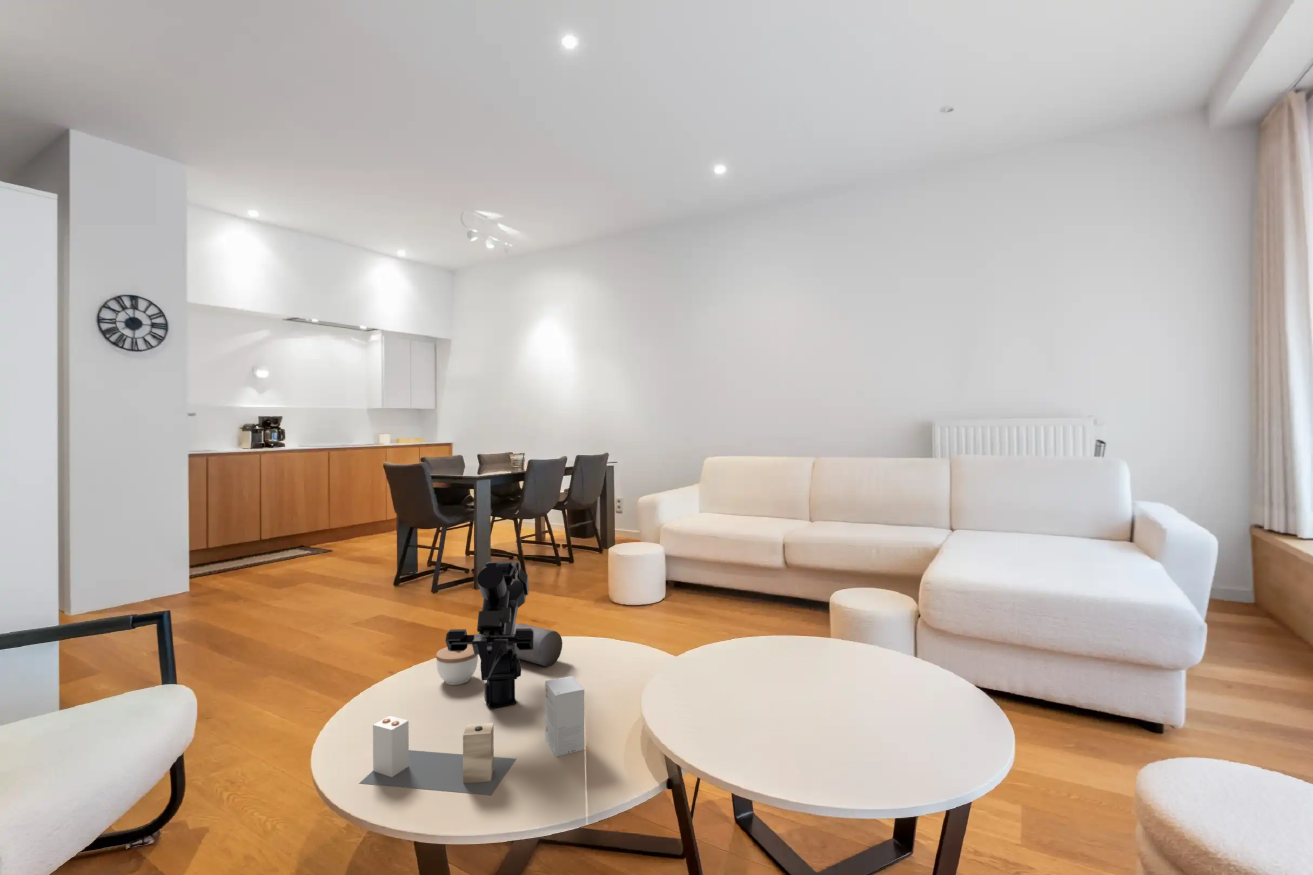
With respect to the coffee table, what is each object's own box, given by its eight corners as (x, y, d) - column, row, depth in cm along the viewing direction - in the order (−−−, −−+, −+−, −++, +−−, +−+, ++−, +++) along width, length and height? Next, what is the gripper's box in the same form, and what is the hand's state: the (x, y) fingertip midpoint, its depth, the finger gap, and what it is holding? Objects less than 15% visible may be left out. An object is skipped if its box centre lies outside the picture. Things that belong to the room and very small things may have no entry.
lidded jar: (458, 669, 164) (458, 635, 164) (486, 676, 159) (486, 642, 159) (427, 683, 155) (427, 648, 155) (456, 692, 150) (456, 655, 150)
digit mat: (516, 761, 118) (516, 758, 118) (491, 798, 106) (491, 794, 106) (396, 751, 121) (396, 748, 121) (359, 786, 109) (359, 783, 109)
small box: (585, 752, 121) (584, 689, 121) (555, 759, 118) (554, 695, 118) (573, 734, 128) (572, 674, 128) (544, 740, 126) (544, 680, 125)
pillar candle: (564, 657, 171) (527, 647, 179) (561, 625, 170) (524, 617, 178) (540, 672, 163) (503, 661, 171) (537, 639, 162) (499, 629, 170)
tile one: (467, 771, 113) (466, 723, 113) (493, 768, 114) (493, 721, 114) (463, 783, 109) (462, 734, 109) (490, 780, 110) (490, 732, 110)
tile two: (390, 760, 117) (389, 714, 117) (408, 766, 115) (408, 719, 115) (373, 770, 113) (372, 723, 113) (391, 777, 111) (391, 728, 111)
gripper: (448, 593, 129) (435, 663, 118) (534, 593, 132) (529, 661, 121) (454, 616, 137) (443, 684, 126) (536, 616, 140) (531, 682, 129)
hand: (486, 678), depth 125 cm, fingers closed
